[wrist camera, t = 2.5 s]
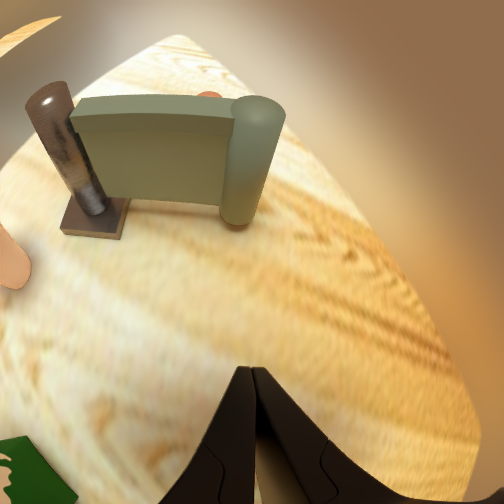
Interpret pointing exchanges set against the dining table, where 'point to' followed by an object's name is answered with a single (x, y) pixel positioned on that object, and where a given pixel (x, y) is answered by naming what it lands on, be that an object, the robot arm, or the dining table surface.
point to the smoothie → (12, 262)
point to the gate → (182, 148)
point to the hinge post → (74, 166)
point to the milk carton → (29, 476)
